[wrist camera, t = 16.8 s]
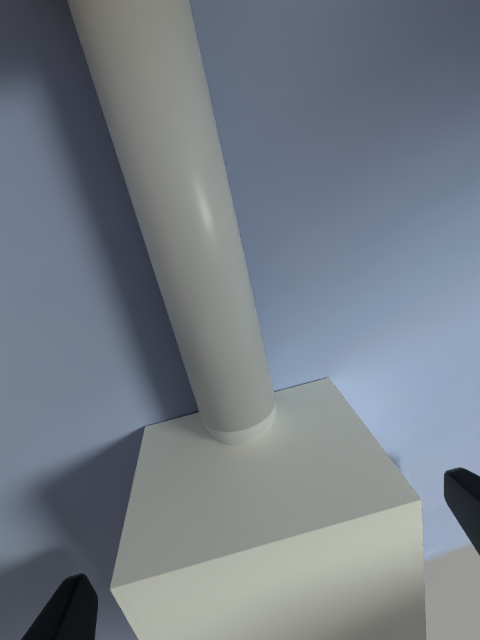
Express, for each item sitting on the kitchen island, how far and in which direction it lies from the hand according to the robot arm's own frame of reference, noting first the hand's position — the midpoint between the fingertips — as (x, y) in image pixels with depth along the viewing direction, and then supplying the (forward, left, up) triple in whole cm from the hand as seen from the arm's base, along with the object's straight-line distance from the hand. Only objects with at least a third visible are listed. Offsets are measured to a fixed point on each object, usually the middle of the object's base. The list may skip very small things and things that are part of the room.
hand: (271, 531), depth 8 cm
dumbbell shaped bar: (0, -6, -1) cm, 6 cm away
